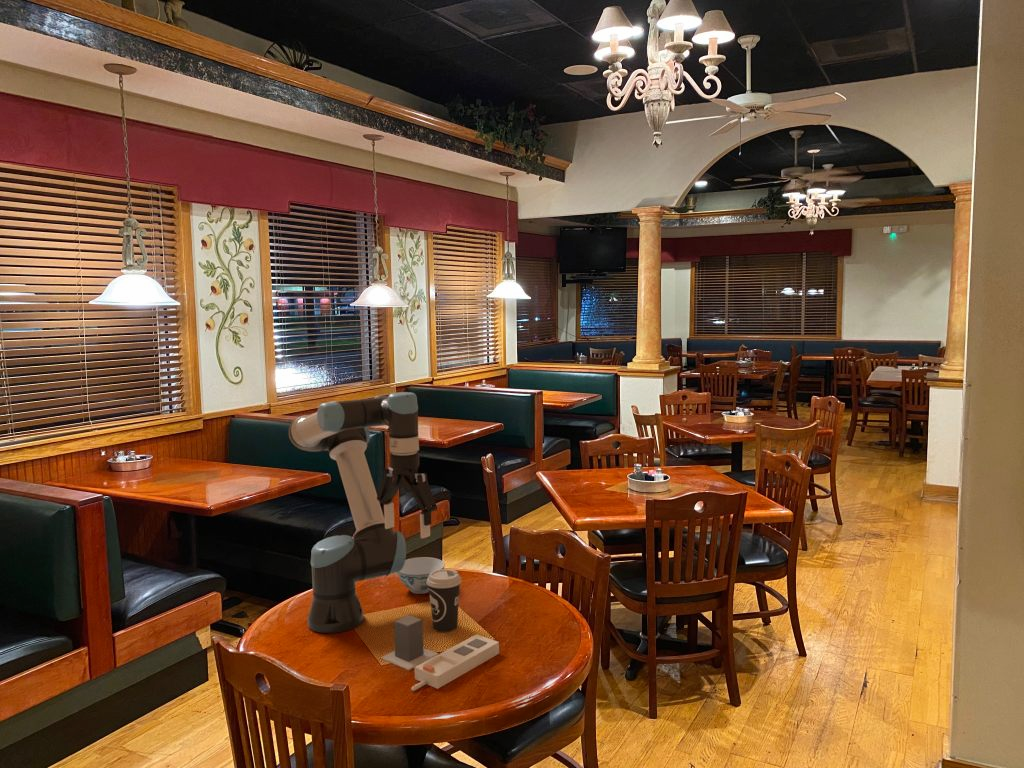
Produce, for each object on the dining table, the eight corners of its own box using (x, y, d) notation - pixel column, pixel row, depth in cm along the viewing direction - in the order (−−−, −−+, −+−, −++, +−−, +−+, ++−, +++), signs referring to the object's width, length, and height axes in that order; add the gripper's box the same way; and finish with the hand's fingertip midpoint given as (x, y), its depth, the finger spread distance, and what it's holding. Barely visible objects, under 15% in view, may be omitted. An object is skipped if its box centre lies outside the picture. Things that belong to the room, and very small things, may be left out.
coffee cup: (457, 636, 203) (456, 581, 201) (423, 633, 205) (421, 579, 203) (466, 621, 212) (465, 568, 211) (433, 618, 214) (432, 567, 212)
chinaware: (397, 601, 227) (396, 576, 226) (395, 583, 242) (394, 559, 241) (448, 596, 230) (447, 571, 229) (442, 578, 245) (441, 555, 244)
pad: (381, 658, 191) (381, 657, 191) (410, 644, 199) (410, 642, 198) (408, 670, 185) (408, 668, 184) (437, 655, 192) (437, 653, 192)
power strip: (423, 697, 172) (422, 681, 172) (400, 686, 177) (400, 671, 176) (499, 653, 193) (498, 639, 192) (476, 645, 197) (476, 631, 197)
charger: (395, 656, 191) (393, 621, 190) (409, 649, 195) (408, 614, 194) (409, 662, 188) (407, 626, 187) (423, 654, 192) (422, 619, 191)
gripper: (361, 449, 202) (364, 527, 204) (428, 460, 186) (430, 545, 189) (383, 444, 208) (386, 520, 210) (449, 455, 192) (451, 537, 194)
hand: (407, 532), depth 199 cm, fingers open, 13 cm apart
